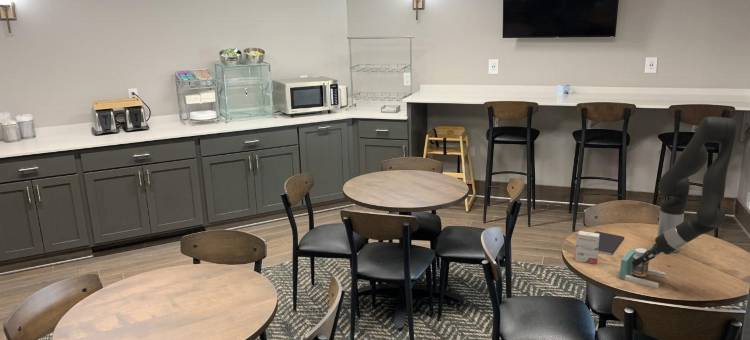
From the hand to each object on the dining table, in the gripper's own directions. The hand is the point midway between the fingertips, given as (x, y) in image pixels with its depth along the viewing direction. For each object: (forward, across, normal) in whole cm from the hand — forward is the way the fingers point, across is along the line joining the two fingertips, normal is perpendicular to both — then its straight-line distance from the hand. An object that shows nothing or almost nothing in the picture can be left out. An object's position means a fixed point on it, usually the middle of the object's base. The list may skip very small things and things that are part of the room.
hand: (635, 261), depth 234 cm
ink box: (+19, -3, -10) cm, 21 cm away
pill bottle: (+2, 0, +5) cm, 5 cm away
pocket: (+2, 0, +6) cm, 7 cm away
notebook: (+19, -24, -10) cm, 32 cm away
